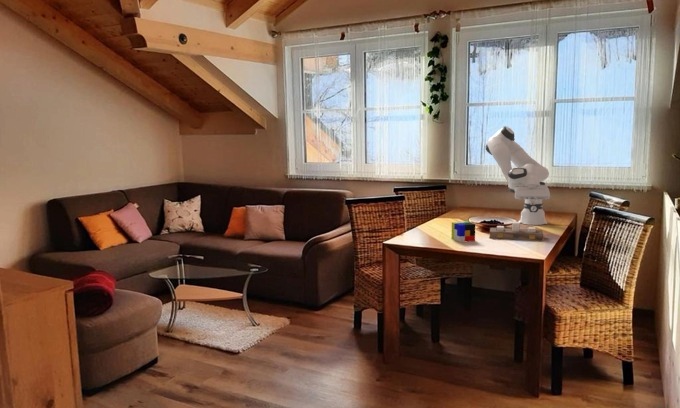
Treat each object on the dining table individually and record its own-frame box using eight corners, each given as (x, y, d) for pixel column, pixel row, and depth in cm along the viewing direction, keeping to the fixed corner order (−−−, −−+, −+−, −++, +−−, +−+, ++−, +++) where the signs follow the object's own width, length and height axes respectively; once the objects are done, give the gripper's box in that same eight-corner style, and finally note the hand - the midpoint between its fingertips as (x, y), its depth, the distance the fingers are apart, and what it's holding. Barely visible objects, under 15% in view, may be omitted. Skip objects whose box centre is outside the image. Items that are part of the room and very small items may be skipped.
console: (490, 233, 320) (490, 227, 320) (541, 236, 311) (541, 229, 311) (489, 238, 309) (489, 231, 308) (543, 240, 300) (543, 234, 299)
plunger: (527, 236, 310) (528, 227, 309) (534, 237, 309) (535, 227, 308) (528, 238, 306) (528, 228, 305) (535, 238, 305) (535, 228, 304)
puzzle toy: (459, 242, 300) (459, 225, 298) (451, 238, 309) (451, 222, 308) (474, 240, 303) (475, 224, 301) (466, 237, 312) (466, 221, 311)
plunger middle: (512, 231, 312) (512, 221, 311) (519, 231, 311) (519, 222, 310) (512, 232, 308) (512, 223, 308) (519, 233, 307) (519, 223, 306)
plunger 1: (496, 235, 315) (497, 225, 314) (503, 235, 314) (503, 226, 313) (496, 236, 312) (496, 227, 311) (503, 237, 310) (503, 227, 310)
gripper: (514, 182, 318) (515, 200, 310) (549, 183, 313) (551, 201, 305) (513, 189, 323) (514, 206, 315) (548, 189, 318) (549, 207, 310)
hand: (532, 204), depth 310 cm, fingers closed
